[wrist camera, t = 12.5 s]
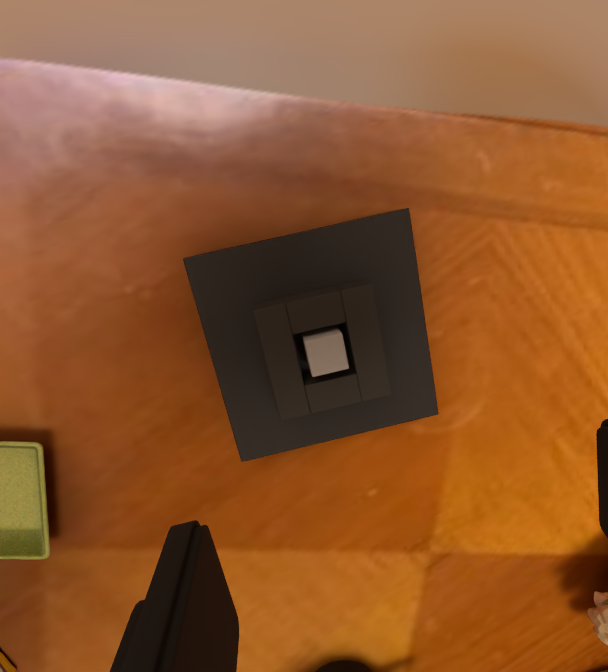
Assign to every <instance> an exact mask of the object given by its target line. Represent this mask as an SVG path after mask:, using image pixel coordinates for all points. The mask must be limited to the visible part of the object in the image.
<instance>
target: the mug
mask: <svg viewBox="0 0 608 672" xmlns="http://www.w3.org/2000/svg"><path fill="white" fill-rule="evenodd" d="M316 672H372V671H371V670H370V669H369V668H368V667H366V666H365V665H363V664H361V663H358V662H355V661H346V660H345V661H336V662H332V663H329V664H327V665H325V666H323V667H321V668H320V669H318V670H317V671H316Z"/></svg>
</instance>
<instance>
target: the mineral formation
mask: <svg viewBox="0 0 608 672" xmlns="http://www.w3.org/2000/svg"><path fill="white" fill-rule="evenodd" d="M594 603H595V604H596V606H597V607H594V608H589V609H588V611H587V614H588V616H589V618H590V619H591V621H592V623H593V624H594V627H593V628H594V631H595V633H596V635H597V637H598V638H599V639H600V640H601V641H602V642H603V643H604V644H606V645H607V646H608V592H605V593H600V592H596V591H595V592H594Z"/></svg>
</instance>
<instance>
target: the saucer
mask: <svg viewBox="0 0 608 672" xmlns="http://www.w3.org/2000/svg"><path fill="white" fill-rule="evenodd" d="M49 555H50V538H49V524H48V510H47V495H46V481H45V466H44V451H43V446H42V444H40V443H38V442H18V441H0V559H47V558H48V557H49Z"/></svg>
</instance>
